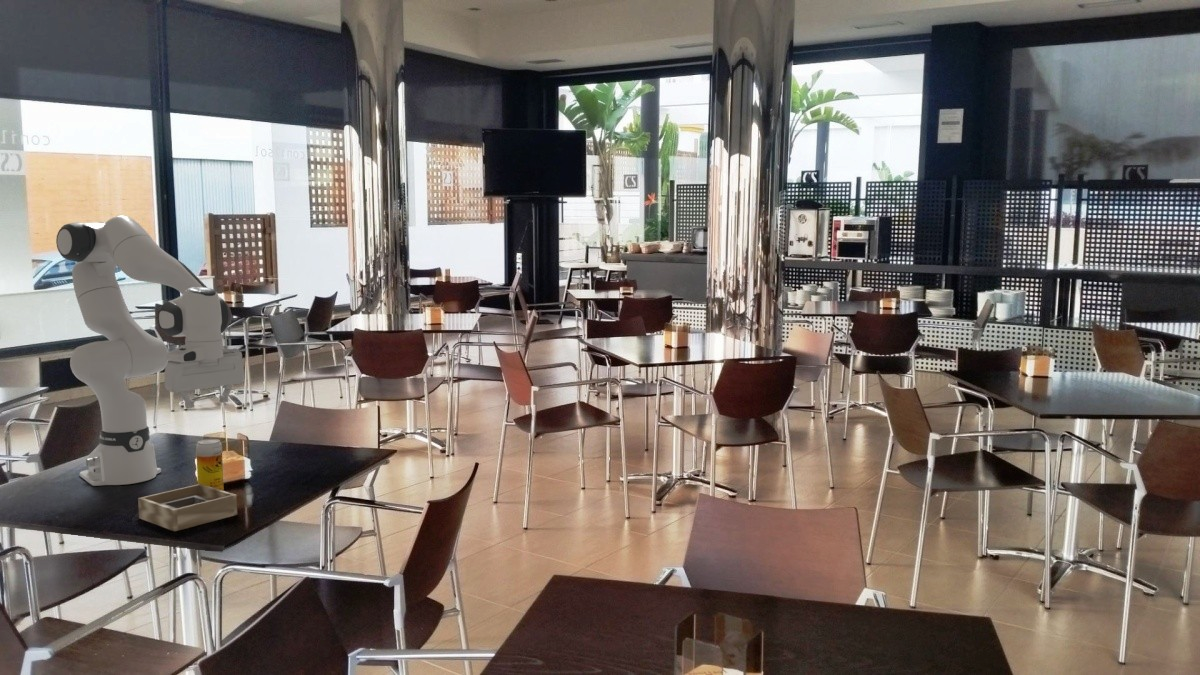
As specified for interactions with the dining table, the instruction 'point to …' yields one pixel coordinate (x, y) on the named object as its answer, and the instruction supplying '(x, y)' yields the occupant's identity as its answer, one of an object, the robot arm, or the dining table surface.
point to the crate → (187, 507)
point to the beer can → (210, 463)
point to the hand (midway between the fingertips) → (207, 405)
